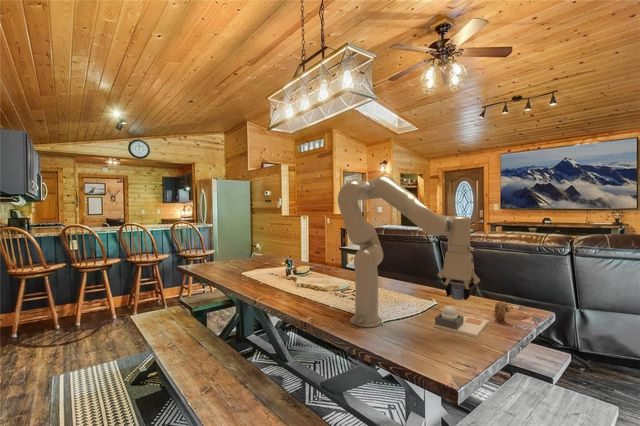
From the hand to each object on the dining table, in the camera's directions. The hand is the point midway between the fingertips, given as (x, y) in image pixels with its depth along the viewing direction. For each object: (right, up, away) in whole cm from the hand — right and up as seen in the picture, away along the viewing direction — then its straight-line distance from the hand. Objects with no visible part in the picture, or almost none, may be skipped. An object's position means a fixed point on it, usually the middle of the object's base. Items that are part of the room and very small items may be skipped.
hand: (457, 296), depth 122 cm
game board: (+7, -15, +12) cm, 20 cm away
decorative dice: (0, -1, 0) cm, 1 cm away
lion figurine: (+27, -15, +18) cm, 36 cm away
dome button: (+1, -13, +11) cm, 17 cm away
